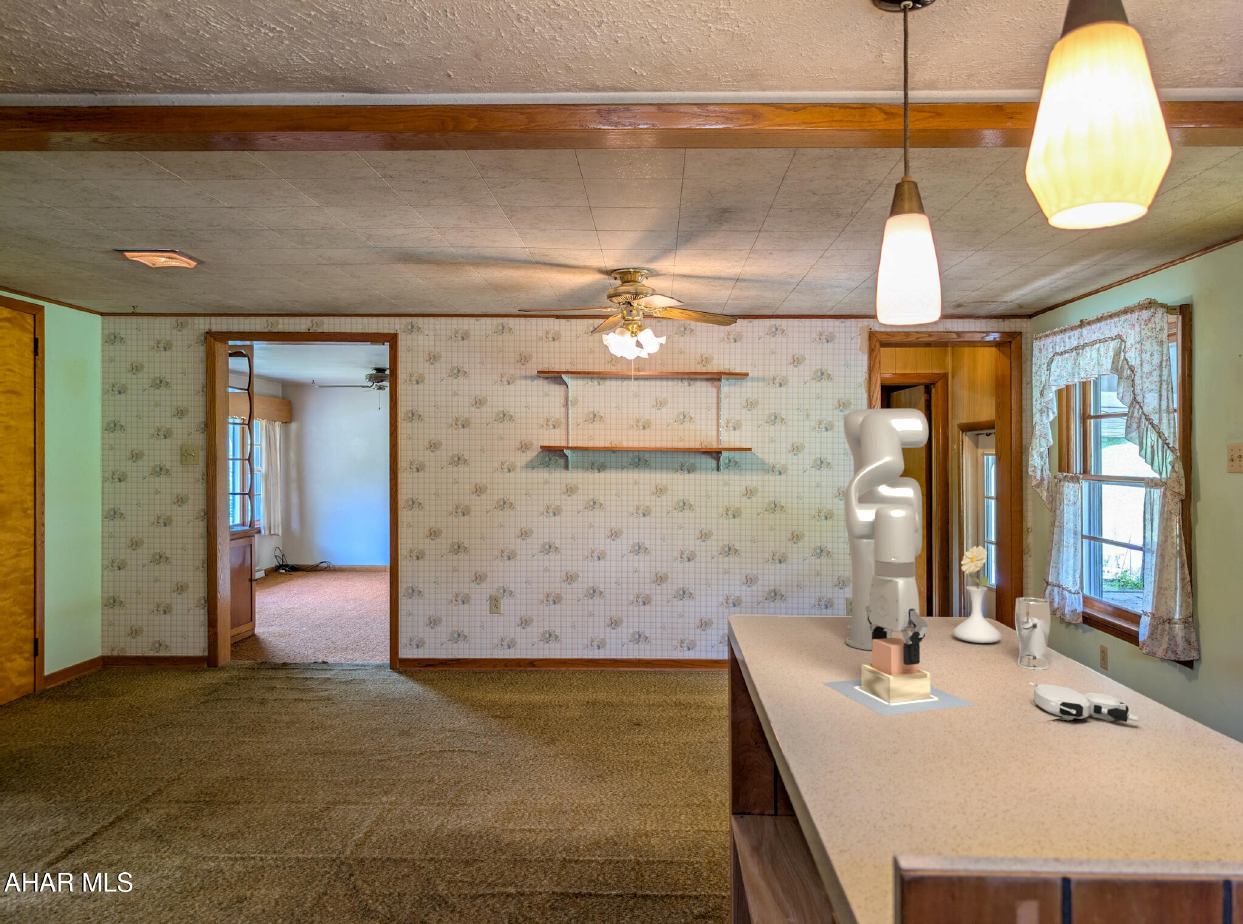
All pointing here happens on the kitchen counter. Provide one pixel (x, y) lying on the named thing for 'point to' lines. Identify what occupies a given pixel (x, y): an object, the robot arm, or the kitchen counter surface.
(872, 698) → the board
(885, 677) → the maple base
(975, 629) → the flower in vase
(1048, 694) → the robot toy
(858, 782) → the kitchen counter surface
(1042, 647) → the beer glass
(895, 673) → the terracotta cube
